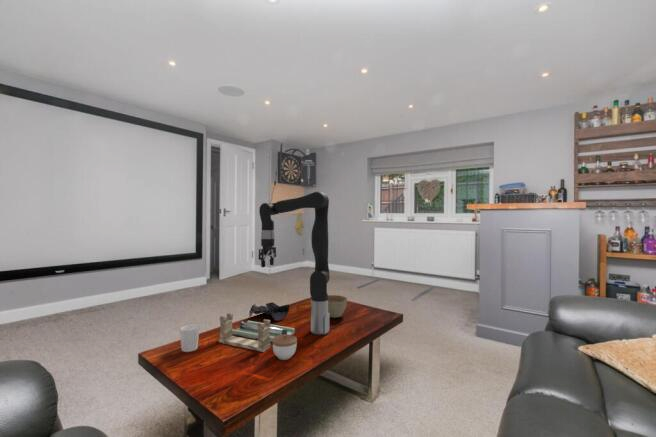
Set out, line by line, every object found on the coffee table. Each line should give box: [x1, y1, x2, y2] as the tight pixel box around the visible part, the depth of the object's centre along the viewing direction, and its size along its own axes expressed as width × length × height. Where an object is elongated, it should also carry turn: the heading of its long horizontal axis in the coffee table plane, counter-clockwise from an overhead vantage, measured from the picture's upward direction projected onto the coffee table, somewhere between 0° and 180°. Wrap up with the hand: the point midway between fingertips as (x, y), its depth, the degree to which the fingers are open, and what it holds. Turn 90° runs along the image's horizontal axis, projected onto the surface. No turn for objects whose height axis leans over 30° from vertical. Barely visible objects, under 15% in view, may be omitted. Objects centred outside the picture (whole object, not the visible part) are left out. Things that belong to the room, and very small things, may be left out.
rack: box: [218, 313, 272, 353], centre depth 143 cm, size 26×6×12 cm, turn 67°
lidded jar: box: [271, 334, 298, 361], centre depth 131 cm, size 11×11×9 cm
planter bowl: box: [328, 294, 348, 319], centre depth 186 cm, size 16×16×11 cm
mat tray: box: [232, 320, 296, 343], centre depth 157 cm, size 30×15×2 cm, turn 67°
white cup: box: [179, 324, 200, 353], centre depth 137 cm, size 8×8×10 cm
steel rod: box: [238, 321, 287, 335], centre depth 156 cm, size 28×3×3 cm, turn 68°
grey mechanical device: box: [248, 302, 290, 321], centre depth 181 cm, size 18×20×9 cm
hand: (267, 266), depth 171 cm, fingers open, 8 cm apart
